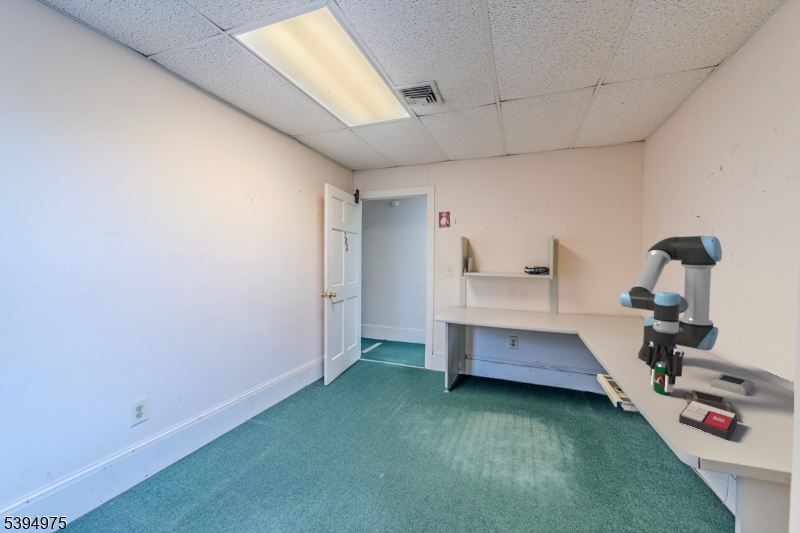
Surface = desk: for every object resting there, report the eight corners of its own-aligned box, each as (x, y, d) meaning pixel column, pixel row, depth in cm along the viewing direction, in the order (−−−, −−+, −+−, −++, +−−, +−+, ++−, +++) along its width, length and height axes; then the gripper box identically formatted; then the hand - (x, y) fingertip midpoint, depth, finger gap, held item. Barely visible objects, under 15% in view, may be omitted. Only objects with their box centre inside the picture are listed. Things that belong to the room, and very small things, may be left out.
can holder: (684, 394, 116) (685, 385, 116) (729, 404, 108) (730, 395, 108) (688, 409, 105) (689, 399, 104) (739, 422, 97) (739, 412, 97)
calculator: (679, 413, 96) (691, 398, 104) (678, 425, 96) (690, 410, 104) (729, 430, 87) (737, 412, 95) (728, 444, 87) (736, 425, 95)
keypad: (754, 379, 123) (745, 387, 115) (753, 388, 123) (745, 396, 116) (721, 371, 131) (711, 378, 124) (720, 379, 131) (710, 387, 124)
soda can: (673, 396, 114) (675, 366, 114) (658, 394, 115) (660, 364, 115) (664, 390, 119) (666, 361, 119) (650, 388, 120) (651, 360, 120)
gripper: (636, 325, 125) (633, 378, 126) (679, 337, 107) (675, 399, 108) (652, 325, 125) (649, 378, 126) (698, 337, 107) (694, 399, 108)
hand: (661, 388), depth 117 cm, fingers closed on soda can, 5 cm apart
